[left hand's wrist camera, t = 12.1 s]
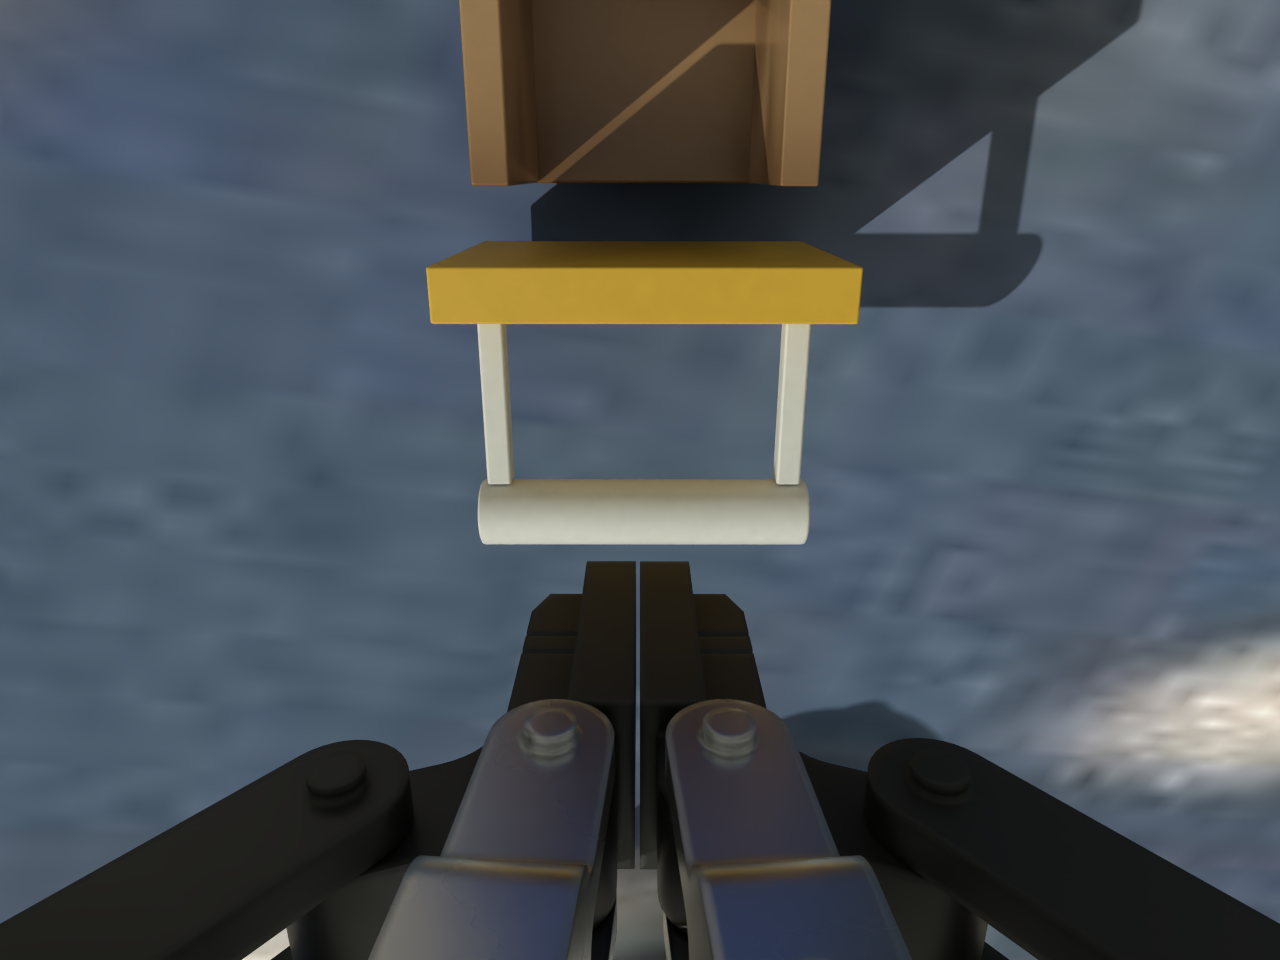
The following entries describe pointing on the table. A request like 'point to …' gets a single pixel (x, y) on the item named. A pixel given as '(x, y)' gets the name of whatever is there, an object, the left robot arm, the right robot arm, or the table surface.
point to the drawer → (644, 270)
